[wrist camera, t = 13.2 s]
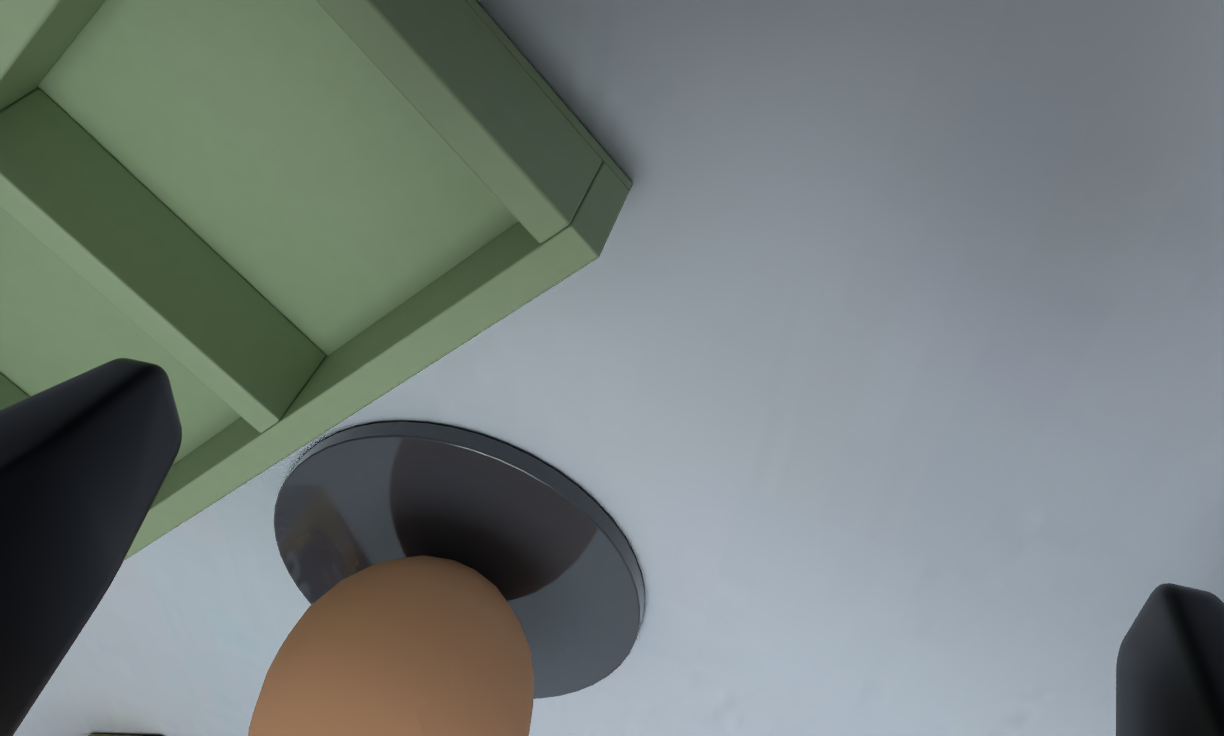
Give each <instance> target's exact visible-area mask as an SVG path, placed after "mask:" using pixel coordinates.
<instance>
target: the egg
mask: <svg viewBox="0 0 1224 736" xmlns="http://www.w3.org/2000/svg"><path fill="white" fill-rule="evenodd" d="M533 695H534V674H533V666H532V659H531V652H530V647H529V645H528V642H527V639H526V636H525V634H524V631H523V628H522V625H521V623H520V621H519V619H518V618H517V616H516V615H515V613H514V611H513V610H512V608H511V607H510V605H509V604H508V602H507V601H506V599H505V598H504V597H503V595H502V594H501V592H500V591H499V590H498V588H497V587H496V586H495V585H494V584H493V583H491V582H490V581H489V580H488V579H486V578H485V577H484V576H483V575H481V574H480V573H479V572H477V571H476V570H475V569H472V568H470V567H468V566H466V565H463V564H461V563H459V562H457V561H454V560H450V559H444V558H438V557H431V556H414V557H407V558H399V559H394V560H388V561H383V562H379V563H377V564H374V565H372V566H369V567H367V568H365V569H363V570H361V571H359V572H357V573H355V574H353V575H351V576H349V577H347V578H345V579H343V580H341V581H340V582H339V583H338V584H336V585H335V586H334V587H333V588H332V589H330V590H329V591H328V592H327V593H325V594H324V595H323V596H322V597H321V598H319V599H318V600H317V601H316V602H315V603H313V604H312V605H311V606H310V607H309V608H308V609H307V611H306V612H305V613H304V615H303V616H302V617H301V619H300V620H299V621H298V623H297V624H296V625H295V627H294V628H293V629H292V631H291V632H290V633H289V635H288V637H287V638H286V640H285V641H284V643H283V645H282V646H281V648H280V649H279V651H278V653H277V655H276V657H275V659H274V660H273V662H272V664H271V666H270V668H269V670H268V672H267V675H266V677H265V680H264V683H263V686H262V689H261V692H260V695H259V698H258V701H257V703H256V706H255V709H254V713H253V716H252V720H251V723H250V727H249V736H528V735H529V731H530V723H531V716H532V708H533Z"/></svg>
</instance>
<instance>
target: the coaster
mask: <svg viewBox="0 0 1224 736" xmlns="http://www.w3.org/2000/svg"><path fill="white" fill-rule="evenodd" d="M274 528H275V536H276V541H277V545H278V548H279V552H280V555H281V557H282V559H283V562H284V564H285V566H286V568H287V570H288V572H289V574H290V576H291V577H292V579H293V580H294V582H295V584H296V585H297V587H298V588H299V590H300V591H301V592H302V593H303V595H304V596H305V597H306V599H307V600H308V601H309V602H310V604H311V605H312V604H313V603H315V602H316V601H317V600H318V599H319V598H321V597H322V596H323V595H324V594H325V593H327V592H328V591H329V590H330V589H332V588H333V587H334V586H335V585H336V584H338V583H339V582H340V581H341V580H343V579H345V578H347V577H349V576H351V575H353V574H355V573H357V572H359V571H361V570H363V569H365V568H367V567H369V566H372V565H374V564H377V563H379V562H383V561H388V560H394V559H399V558H407V557H414V556H431V557H438V558H444V559H450V560H454V561H457V562H459V563H461V564H463V565H466V566H468V567H470V568H472V569H475V570H476V571H477V572H479V573H480V574H481V575H483V576H484V577H485V578H486V579H488V580H489V581H490V582H491V583H493V584H494V585H495V586H496V587H497V588H498V590H499V591H500V592H501V594H502V595H503V597H504V598H505V599H506V601H507V602H508V604H509V605H510V607H511V608H512V610H513V611H514V613H515V615H516V616H517V618H518V619H519V621H520V623H521V625H522V628H523V631H524V634H525V636H526V639H527V642H528V645H529V647H530V652H531V659H532V666H533V674H534V695H533V699H536V698H547V697H554V696H561V695H564V694H568V693H572V692H576V691H579V690H581V689H584V688H586V687H589V686H591V685H594V684H595V683H597V682H599V681H600V680H602V679H604V678H605V677H607V676H608V675H610V674H611V673H612V672H613V671H614V670H615V669H617V668H618V667H619V666H620V665H621V664H622V662H623V661H624V660H625V659H626V657H627V656H628V655H629V653H630V652H631V650H632V648H633V646H634V643H635V641H636V639H637V636H638V632H639V628H640V625H641V620H642V616H643V612H644V587H643V581H642V576H641V572H640V570H639V567H638V564H637V561H636V558H635V556H634V554H633V552H632V550H631V548H630V546H629V544H628V543H627V541H626V539H625V537H624V536H623V535H622V533H621V532H620V530H619V529H618V527H617V526H616V525H615V523H614V522H613V520H612V519H611V518H610V517H609V516H608V515H607V514H606V513H605V512H604V511H603V509H602V508H601V507H600V506H599V505H598V504H597V503H596V502H595V501H594V500H593V499H592V498H591V497H589V496H588V495H587V494H586V493H585V492H584V491H583V490H582V489H580V488H579V487H578V486H577V485H576V484H574V483H573V482H571V481H570V480H569V479H567V478H566V477H565V476H563V475H562V474H560V473H559V472H558V471H556V470H555V469H553V468H551V467H550V466H548V465H546V464H545V463H543V462H541V461H539V460H538V459H536V458H534V457H533V456H531V455H529V454H527V453H524V452H522V451H520V450H518V449H516V448H514V447H512V446H510V445H507V444H505V443H502V442H500V441H497V440H494V439H491V438H489V437H486V436H483V435H480V434H477V433H473V432H469V431H465V430H462V429H458V428H454V427H448V426H442V425H436V424H430V423H417V422H384V423H375V424H369V425H363V426H358V427H354V428H351V429H348V430H345V431H342V432H339V433H336V434H334V435H332V436H331V437H329V438H327V439H325V440H323V441H321V442H319V443H318V444H317V445H315V446H314V447H313V448H311V449H310V450H309V451H307V452H306V453H305V454H304V455H303V457H302V458H301V459H300V460H299V461H298V462H297V464H296V465H295V466H294V468H293V469H292V470H291V472H290V473H289V475H288V476H287V478H286V480H285V482H284V483H283V485H282V487H281V489H280V491H279V494H278V498H277V501H276V505H275V514H274Z"/></svg>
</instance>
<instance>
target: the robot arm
mask: <svg viewBox="0 0 1224 736" xmlns="http://www.w3.org/2000/svg"><path fill="white" fill-rule="evenodd" d="M181 440H182V427H181V422H180V418H179V415H178V411H177V407H176V403H175V400H174V396H173V392H172V388H171V384H170V381H169V377H168V375H167V373H166V372H165V371H164V369H163V368H162V367H161V366H158V365H157V364H152V363H148V362H143V361H138V360H134V359H129V358H118V359H114V360H112V361H109V362H107V363H105V364H102V365H100V366H98V367H96V368H93V369H91V370H89V371H87V372H84V373H82V374H80V375H78V376H75V377H73V378H71V379H69V380H66V381H64V382H62V383H60V384H57V385H55V386H53V387H51V388H48V389H46V390H44V391H42V392H39V393H37V394H35V395H33V396H31V397H28V398H26V399H24V400H22V401H19V402H17V403H15V404H13V405H10V406H8V407H6V408H4V409H1V410H0V736H13V735H14V733H15V731H16V730H17V728H18V727H19V725H20V724H21V722H22V721H23V719H24V718H25V716H26V715H27V713H28V712H29V710H30V708H31V707H32V705H33V704H34V702H35V701H36V699H37V698H38V696H39V695H40V693H41V692H42V690H43V689H44V687H45V685H46V684H47V682H48V681H49V679H50V678H51V676H52V675H53V673H54V672H55V670H56V669H57V667H58V666H59V664H60V663H61V661H62V659H63V658H64V656H65V655H66V653H67V652H68V650H69V649H70V647H71V646H72V644H73V643H74V641H75V640H76V638H77V636H78V635H79V633H80V632H81V630H82V629H83V627H84V626H85V624H86V623H87V621H88V620H89V618H90V617H91V615H92V613H93V612H94V610H95V609H96V607H97V606H98V604H99V602H100V601H101V599H102V598H103V596H104V594H105V593H106V591H107V590H108V588H109V586H110V585H111V583H112V581H113V579H114V577H115V575H116V574H117V572H118V570H119V568H120V566H121V565H122V563H123V561H124V559H125V557H126V555H127V553H128V551H129V549H130V547H131V545H132V543H133V541H134V539H135V537H136V535H137V533H138V531H139V529H140V527H141V525H142V523H143V521H144V519H145V517H146V515H147V513H148V511H149V509H150V508H151V506H152V504H153V502H154V500H155V498H156V496H157V494H158V492H159V490H160V488H161V486H162V484H163V482H164V480H165V478H166V476H167V474H168V472H169V470H170V468H171V466H172V464H173V462H174V460H175V458H176V456H177V454H178V452H179V449H180V445H181ZM1116 736H1224V603H1223V602H1222V601H1221V600H1220V599H1219V598H1218V597H1217V596H1215V595H1214V594H1212V593H1210V592H1207V591H1203V590H1198V589H1193V588H1189V587H1184V586H1180V585H1175V584H1170V583H1167V584H1161V585H1159V586H1158V587H1157V588H1155V590H1154V591H1153V592H1152V593H1151V595H1150V596H1149V598H1148V600H1147V601H1146V603H1145V605H1144V606H1143V608H1142V610H1141V611H1140V613H1139V614H1138V616H1137V618H1136V619H1135V621H1134V623H1133V624H1132V626H1131V628H1130V629H1129V631H1128V632H1127V634H1126V636H1125V637H1124V639H1123V641H1122V643H1121V646H1120V649H1119V653H1118V658H1117V667H1116Z"/></svg>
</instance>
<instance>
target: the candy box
mask: <svg viewBox="0 0 1224 736" xmlns="http://www.w3.org/2000/svg"><path fill="white" fill-rule="evenodd" d="M88 736H135V735H106V734H92V735H88ZM138 736H141V735H138Z"/></svg>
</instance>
